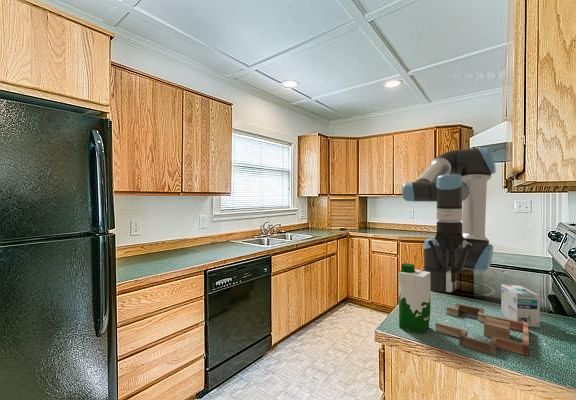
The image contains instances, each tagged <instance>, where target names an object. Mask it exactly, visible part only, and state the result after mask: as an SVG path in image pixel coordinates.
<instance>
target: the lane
mask: <svg viewBox="0 0 576 400" xmlns="http://www.w3.org/2000/svg"><path fill="white" fill-rule="evenodd" d="M454 307H455V306H454ZM454 307H453V306H449V305H447V306H446V315H449V316H454V317H458V308H454ZM486 317H488V318H493V319H497V320H502V321H506V322H510V330H511V329H512V330H514V331H519V332H522V342H520V341H514V340H511V339H509V340H507V339H503V338H499V337H495V336H492V338H496V339H497V349H501V350H505V351H509V352H512V353H516V354H520V355H525V356H527V357H528V356H529V357H530V341H529V340H530V338H529V326H528V323H524V322H520V321H515V320H510V319H508V318H507V317H500V316H497V315H491V314H490V315H489V314H486V313H484V314H482V313H478V320H477V322H480V323H484V322H485V320H486ZM434 330H435V332H436V333H441V334H445V335H449V336H453V337H456V338H459V336H460V334H461V332H462V330H464V331H467V336H468V330H469V329H466V328H462V327H458V326H455V325H454V326H453V325H450V324H446V323H442V322H439V321H436V322H435V329H434Z"/></svg>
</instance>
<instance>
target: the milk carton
mask: <svg viewBox="0 0 576 400" xmlns="http://www.w3.org/2000/svg"><path fill="white" fill-rule="evenodd" d="M400 265H401V266H400V267H401V268H400V270H399V272H398V274H397V275H398V276H397V277H398V327H399V329H403V330H406V331H409V332H414V333H416V334H417V333H418V334H420V335H423V334H425V332H426V330H427V329H428V328H429V327H430V319H431V295H432V294H431V291H432V290H431V283H430V272H426V271H424V270H423V269H422V270H421V269H415V264H412V263H401V264H400Z"/></svg>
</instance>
